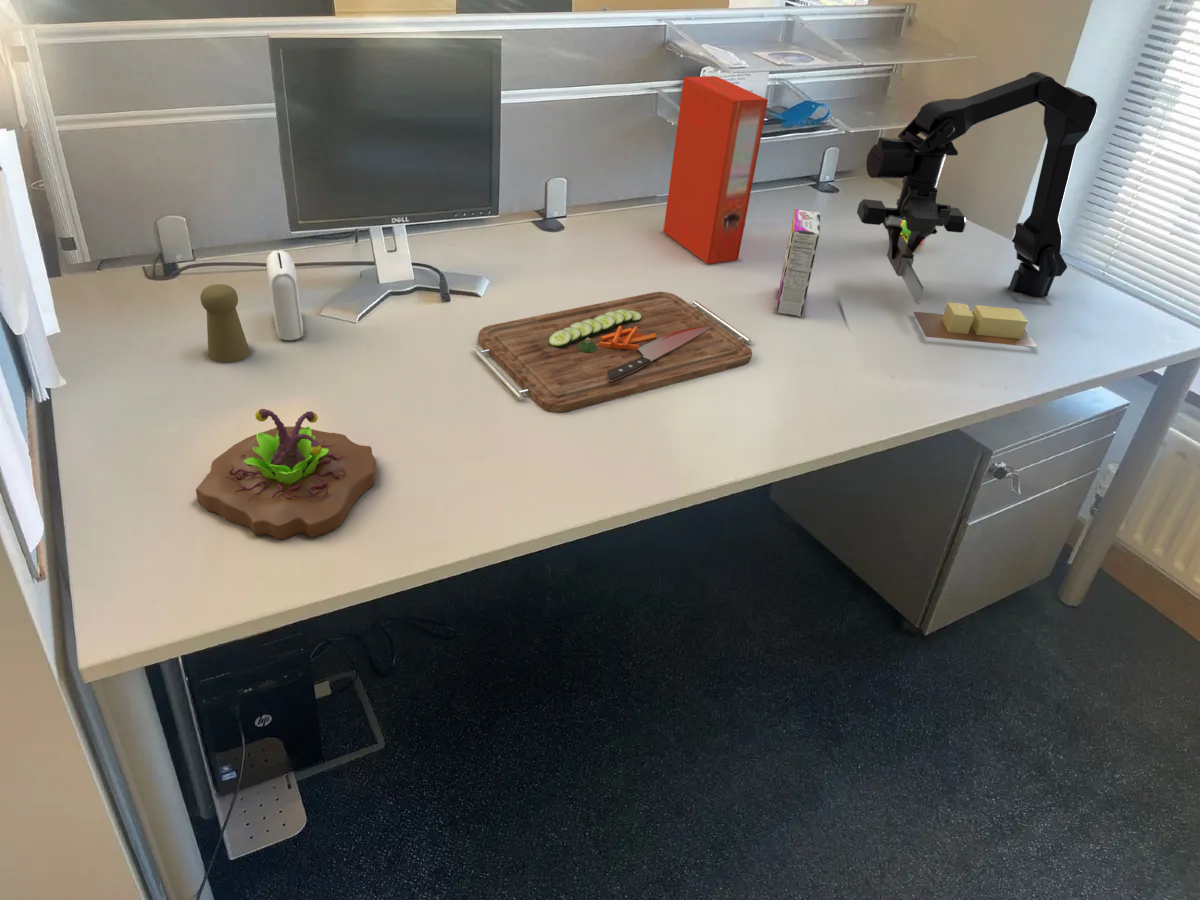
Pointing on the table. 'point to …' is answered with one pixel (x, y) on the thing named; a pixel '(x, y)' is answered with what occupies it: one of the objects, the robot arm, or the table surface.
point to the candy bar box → (798, 262)
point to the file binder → (713, 167)
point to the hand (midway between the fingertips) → (898, 259)
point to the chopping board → (610, 349)
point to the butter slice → (957, 318)
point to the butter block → (998, 322)
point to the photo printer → (284, 295)
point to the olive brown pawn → (223, 324)
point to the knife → (906, 269)
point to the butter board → (937, 329)
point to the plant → (288, 479)
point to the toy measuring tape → (906, 232)
